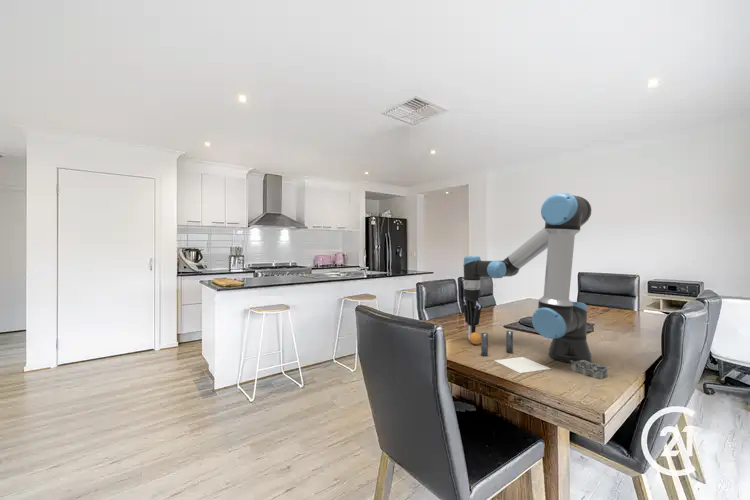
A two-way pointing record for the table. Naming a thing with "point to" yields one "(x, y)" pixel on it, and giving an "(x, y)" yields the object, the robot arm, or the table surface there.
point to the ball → (475, 338)
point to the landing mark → (522, 365)
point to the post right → (509, 341)
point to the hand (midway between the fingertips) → (471, 338)
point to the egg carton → (589, 368)
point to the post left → (484, 344)
